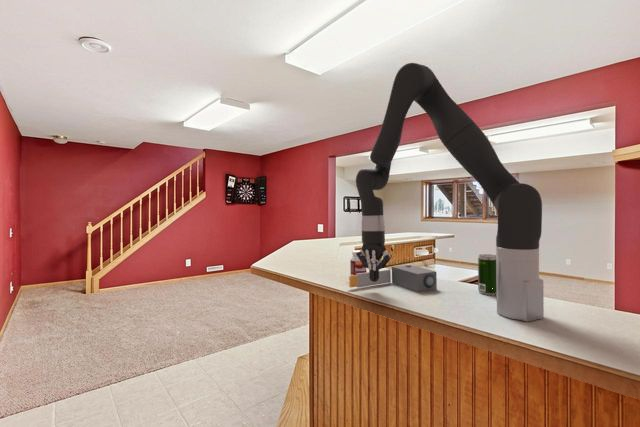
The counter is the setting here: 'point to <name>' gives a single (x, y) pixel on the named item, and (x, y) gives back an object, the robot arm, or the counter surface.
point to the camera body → (414, 278)
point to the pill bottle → (356, 264)
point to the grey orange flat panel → (364, 279)
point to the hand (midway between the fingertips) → (374, 281)
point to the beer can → (487, 274)
